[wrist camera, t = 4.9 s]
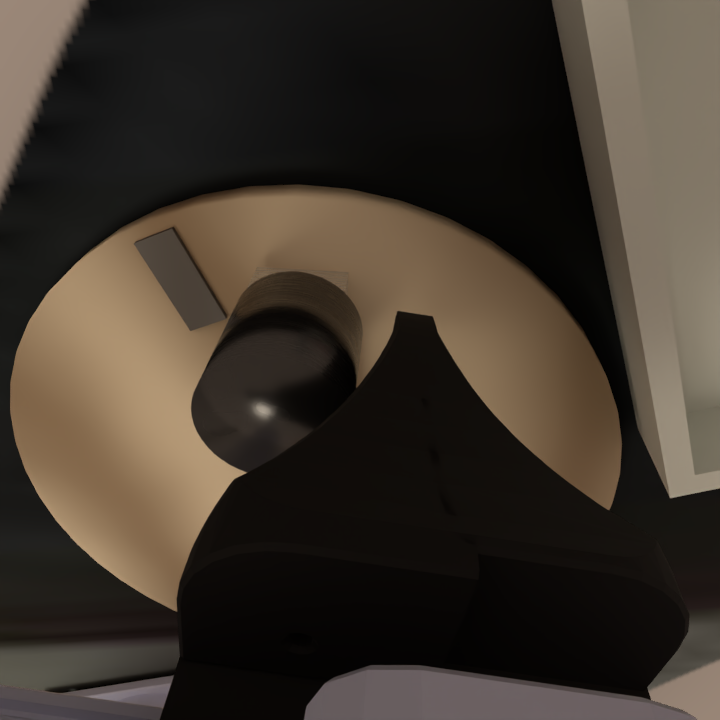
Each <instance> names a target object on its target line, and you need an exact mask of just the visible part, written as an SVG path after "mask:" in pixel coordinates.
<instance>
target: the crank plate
mask: <svg viewBox="0 0 720 720" xmlns="http://www.w3.org/2000/svg"><path fill="white" fill-rule="evenodd" d="M257 267H267V268H285V269H303V270H321V271H339V272H348V297H349V298H350V299H351V301H352V302H353V303H354V305H355V307H356V309H357V310H358V312H359V315H360V318H361V322H362V328H363V337H362V345H361V353H360V361H359V369H358V377H357V386H356V388H357V387H358V386H359V385H360V383H361V382H362V381H363V379H364V378H365V377H366V375H367V374H368V373H369V371H370V370H371V369H372V367H373V366H374V364H375V363H376V361H377V360H378V358H379V356H380V355H381V353H382V351H383V350H384V348H385V346H386V345H387V343H388V341H389V338H390V336H391V334H392V332H393V327H394V322H395V317H396V315H397V311H402V312H409V313H415V314H421V315H428V316H433V318H434V321H435V324H436V328H437V332H438V334H439V336H440V337H441V339H442V341H443V343H444V344H445V346H446V348H447V349H448V351H449V353H450V355H451V356H452V358H453V359H454V361H455V363H456V364H457V366H458V367H459V369H460V370H461V372H462V373H463V375H464V376H465V378H466V379H467V381H468V382H469V383H470V385H471V386H472V388H473V389H474V390H475V392H476V393H477V394H478V396H479V397H480V398H481V399H482V401H483V402H484V403H485V404H486V406H487V407H488V408H489V409H490V410H491V411H492V413H493V414H494V415H495V416H496V417H497V418H498V419H499V420H500V421H501V422H502V423H503V424H504V425H505V426H506V428H507V429H508V430H509V431H510V432H511V433H512V434H513V435H514V436H515V437H516V438H517V439H518V440H519V441H520V442H521V443H522V444H524V445H525V446H526V447H527V448H528V449H529V450H530V451H531V452H532V453H534V454H535V455H536V456H537V457H538V458H539V459H541V460H542V461H543V462H544V463H545V464H546V465H547V466H549V467H550V468H551V469H552V470H553V471H555V472H556V473H557V474H559V475H560V476H561V477H562V478H564V479H565V480H566V481H568V482H569V483H570V484H572V485H573V486H574V487H576V488H577V489H579V490H580V491H581V492H583V493H584V494H586V495H587V496H588V497H590V498H591V499H592V500H594V501H595V502H597V503H598V504H600V505H601V506H603V507H604V508H606V509H607V510H609V509H610V507H611V505H612V503H613V499H614V495H615V491H616V487H617V483H618V479H619V476H620V465H621V450H622V440H621V432H620V424H619V416H618V410H617V407H616V404H615V401H614V397H613V394H612V391H611V388H610V385H609V382H608V379H607V376H606V374H605V372H604V370H603V367H602V365H601V363H600V361H599V359H598V357H597V355H596V353H595V351H594V349H593V347H592V345H591V343H590V342H589V340H588V338H587V336H586V334H585V332H584V330H583V328H582V327H581V325H580V324H579V323H578V321H577V320H576V319H575V317H574V316H573V315H572V314H571V312H570V311H569V310H568V308H567V307H566V306H565V304H564V303H563V302H562V300H561V299H560V298H559V296H558V295H557V294H556V293H555V292H554V291H553V290H551V289H550V288H549V287H548V286H547V285H546V284H545V283H544V282H543V281H542V280H541V279H540V278H539V277H538V276H537V275H536V274H535V273H534V272H533V271H532V270H531V269H530V268H529V267H527V266H526V265H525V264H523V263H522V262H521V261H519V260H518V259H516V258H515V257H514V256H512V255H511V254H509V253H508V252H507V251H505V250H504V249H502V248H501V247H500V246H498V245H497V244H495V243H494V242H493V241H491V240H490V239H488V238H486V237H484V236H482V235H480V234H478V233H476V232H474V231H472V230H470V229H469V228H467V227H465V226H463V225H461V224H459V223H457V222H455V221H453V220H451V219H449V218H448V217H445V216H442V215H439V214H437V213H434V212H431V211H428V210H426V209H423V208H420V207H417V206H415V205H412V204H409V203H406V202H404V201H401V200H397V199H392V198H388V197H384V196H379V195H375V194H370V193H366V192H361V191H357V190H352V189H344V188H333V187H323V186H312V185H301V184H297V185H270V186H249V187H243V188H237V189H231V190H225V191H220V192H214V193H208V194H203V195H199V196H196V197H193V198H190V199H187V200H184V201H181V202H178V203H175V204H172V205H169V206H165V207H162V208H159V209H157V210H155V211H153V212H151V213H149V214H147V215H145V216H143V217H141V218H139V219H137V220H135V221H133V222H131V223H129V224H127V225H125V226H123V227H121V228H120V229H119V230H117V231H116V232H115V233H113V234H112V235H110V236H109V237H108V238H106V239H105V240H104V241H102V242H101V243H99V244H98V245H97V246H95V247H94V248H92V249H91V250H90V251H89V252H88V253H87V254H85V255H84V256H83V257H82V258H81V259H80V260H79V261H78V262H77V263H76V264H75V265H74V266H73V267H72V268H71V269H70V270H69V271H68V272H67V273H66V274H65V275H64V276H63V277H62V278H61V279H60V281H59V282H58V283H57V284H56V285H55V286H54V287H53V288H52V289H51V290H50V291H49V292H48V293H47V295H46V296H45V298H44V299H43V301H42V302H41V304H40V305H39V307H38V308H37V310H36V311H35V313H34V314H33V316H32V317H31V319H30V320H29V322H28V325H27V327H26V330H25V332H24V335H23V337H22V339H21V342H20V344H19V347H18V349H17V352H16V357H15V362H14V367H13V372H12V377H11V399H10V413H11V418H12V424H13V430H14V436H15V441H16V444H17V447H18V450H19V453H20V456H21V459H22V462H23V465H24V467H25V470H26V472H27V474H28V476H29V478H30V480H31V482H32V484H33V485H34V487H35V489H36V491H37V493H38V495H39V497H40V498H41V500H42V501H43V502H44V504H45V505H46V507H47V508H48V510H49V511H50V513H51V514H52V515H53V517H54V518H55V520H56V521H57V522H58V523H59V524H60V525H61V527H62V528H63V529H64V530H65V531H66V532H67V533H68V534H69V536H70V537H71V538H72V539H73V540H74V541H75V542H76V543H77V544H78V545H79V546H80V547H81V548H82V549H83V550H84V551H86V552H87V553H88V554H89V555H90V556H91V557H92V558H93V559H94V560H95V561H96V562H98V563H99V564H100V565H101V566H103V567H104V568H105V569H107V570H108V571H109V572H111V573H112V574H113V575H115V576H116V577H117V578H119V579H120V580H121V581H123V582H125V583H126V584H128V585H129V586H131V587H133V588H134V589H136V590H137V591H139V592H141V593H142V594H144V595H145V596H147V597H149V598H151V599H153V600H155V601H157V602H159V603H161V604H163V605H164V606H166V607H168V608H170V609H172V610H174V611H177V600H176V599H177V593H178V587H179V582H180V579H181V576H182V574H183V571H184V568H185V565H186V563H187V560H188V557H189V554H190V552H191V549H192V547H193V544H194V542H195V540H196V539H197V537H198V535H199V533H200V531H201V529H202V527H203V525H204V523H205V522H206V520H207V518H208V516H209V515H210V513H211V512H212V510H213V509H214V507H215V505H216V504H217V502H218V501H219V499H220V498H221V496H222V495H223V494H224V492H225V491H226V489H227V488H228V486H229V485H230V484H231V482H232V481H233V480H234V479H235V478H237V477H239V476H241V475H244V474H245V473H247V472H244V471H242V470H239V469H237V468H235V467H233V466H231V465H229V464H228V463H226V462H225V461H223V460H222V459H220V458H219V457H218V456H216V455H215V454H214V453H213V452H212V451H211V450H210V449H209V448H208V447H207V446H206V445H205V443H204V442H203V441H202V440H201V438H200V436H199V434H198V433H197V431H196V428H195V426H194V423H193V419H192V414H191V401H192V397H193V393H194V391H195V388H196V386H197V384H198V382H199V380H200V378H201V376H202V374H203V372H204V370H205V368H206V366H207V364H208V361H209V359H210V357H211V355H212V353H213V351H214V349H215V347H216V345H217V343H218V341H219V339H220V337H221V335H222V333H223V330H224V328H225V326H226V324H227V322H228V320H229V318H230V316H231V314H232V312H233V310H234V308H235V306H236V304H237V302H238V299H239V298H240V296H241V295H242V293H243V292H244V291H245V290H246V289H247V288H248V285H249V283H250V281H251V279H252V277H253V274H254V272H255V270H256V268H257Z"/></svg>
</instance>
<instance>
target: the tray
mask: <svg viewBox="0 0 720 720" xmlns="http://www.w3.org/2000/svg"><path fill="white" fill-rule="evenodd" d="M552 5H553V10H554V15H555V20H556V25H557V30H558V34H559V39H560V44H561V49H562V54H563V59H564V64H565V69H566V74H567V79H568V84H569V89H570V94H571V99H572V104H573V109H574V114H575V119H576V124H577V129H578V134H579V139H580V144H581V149H582V154H583V159H584V164H585V169H586V174H587V179H588V184H589V189H590V194H591V198H592V203H593V208H594V213H595V218H596V223H597V228H598V233H599V238H600V243H601V248H602V253H603V258H604V263H605V268H606V273H607V278H608V283H609V288H610V293H611V298H612V303H613V308H614V313H615V318H616V323H617V328H618V333H619V338H620V343H621V348H622V353H623V358H624V362H625V367H626V372H627V377H628V382H629V387H630V392H631V397H632V402H633V407H634V412H635V417H636V422H637V427H638V430H639V432H640V434H641V436H642V439H643V441H644V443H645V445H646V447H647V449H648V452H649V454H650V456H651V458H652V460H653V462H654V464H655V467H656V469H657V471H658V473H659V475H660V477H661V480H662V482H663V484H664V486H665V488H666V490H667V493H668V495H669V497H670V498H673V497H678V496H683V495H688V494H693V493H698V492H703V491H708V490H713V489H718V488H720V0H552Z"/></svg>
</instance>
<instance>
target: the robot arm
mask: <svg viewBox="0 0 720 720" xmlns="http://www.w3.org/2000/svg"><path fill="white" fill-rule="evenodd" d="M176 600H177V616H178V632H179V648H180V658H179V661H178V664H177V667H176V671H175V674H174V675H172V676H166V677H160V678H153V679H147V680H141V681H135V682H128V683H122V684H116V685H109V686H103V687H97V688H90V689H84V690H78V691H72V692H65V693H55V692H48V691H41V690H34V689H27V688H20V687H13V686H6V685H0V720H697V719H696V718H695V717H694V716H692V715H690V714H688V713H687V712H685V711H683V710H680V709H677V708H674V707H671V706H668V705H665V704H661V703H658V702H655V701H651V699H650V695H649V692H648V689H647V687H648V686H649V684H650V683H651V682H652V681H653V679H654V678H655V677H656V676H657V675H658V673H659V672H660V671H661V670H662V668H663V667H664V666H665V665H666V663H667V662H668V661H669V660H670V659H671V657H672V656H673V655H674V654H675V652H676V651H677V650H678V649H679V647H680V645H681V644H682V642H683V640H684V638H685V636H686V635H687V633H688V627H689V613H688V610H687V608H686V605H685V603H684V600H683V598H682V596H681V593H680V590H679V587H678V585H677V582H676V580H675V577H674V575H673V572H672V570H671V568H670V565H669V563H668V561H667V559H666V557H665V555H664V553H663V551H662V549H661V547H660V545H659V543H658V542H657V540H656V539H655V538H653V537H652V536H650V535H648V534H647V533H645V532H643V531H642V530H640V529H639V528H637V527H635V526H634V525H632V524H630V523H629V522H627V521H625V520H624V519H622V518H621V517H619V516H617V515H616V514H614V513H612V512H611V511H609V510H607V509H606V508H604V507H603V506H601V505H600V504H598V503H597V502H595V501H594V500H592V499H591V498H590V497H588V496H587V495H586V494H584V493H583V492H581V491H580V490H579V489H577V488H576V487H574V486H573V485H572V484H570V483H569V482H568V481H566V480H565V479H564V478H562V477H561V476H560V475H559V474H557V473H556V472H555V471H553V470H552V469H551V468H550V467H549V466H547V465H546V464H545V463H544V462H543V461H542V460H541V459H539V458H538V457H537V456H536V455H535V454H534V453H532V452H531V451H530V450H529V449H528V448H527V447H526V446H525V445H524V444H522V443H521V442H520V441H519V440H518V439H517V438H516V437H515V436H514V435H513V434H512V433H511V432H510V431H509V430H508V429H507V428H506V426H505V425H504V424H503V423H502V422H501V421H500V420H499V419H498V418H497V417H496V416H495V415H494V414H493V413H492V411H491V410H490V409H489V408H488V407H487V406H486V404H485V403H484V402H483V401H482V399H481V398H480V397H479V396H478V394H477V393H476V392H475V390H474V389H473V388H472V386H471V385H470V383H469V382H468V381H467V379H466V378H465V376H464V375H463V373H462V372H461V370H460V369H459V367H458V366H457V364H456V363H455V361H454V359H453V358H452V356H451V355H450V353H449V351H448V349H447V348H446V346H445V344H444V343H443V341H442V339H441V337H440V336H439V334H438V332H437V328H436V324H435V321H434V318H433V316H428V315H421V314H415V313H409V312H402V311H397V315H396V317H395V322H394V327H393V332H392V334H391V336H390V338H389V341H388V343H387V345H386V346H385V348H384V350H383V351H382V353H381V355H380V356H379V358H378V360H377V361H376V363H375V364H374V366H373V367H372V369H371V370H370V371H369V373H368V374H367V375H366V377H365V378H364V379H363V381H362V382H361V383H360V385H359V386H358V387H357V388H356V389H355V391H354V392H353V393H352V394H351V395H350V396H349V397H348V398H347V399H346V401H345V402H344V403H343V404H342V405H341V406H340V407H339V408H338V409H337V410H336V411H335V412H334V413H332V414H331V415H330V416H329V417H328V418H327V419H326V420H325V421H324V422H322V423H321V424H320V425H319V426H318V427H317V428H315V429H314V430H313V431H312V432H311V433H309V434H308V435H307V436H305V437H304V438H302V439H301V440H299V441H298V442H297V443H295V444H294V445H292V446H291V447H289V448H288V449H287V450H285V451H284V452H282V453H281V454H279V455H278V456H276V457H274V458H273V459H271V460H269V461H268V462H266V463H264V464H262V465H260V466H258V467H256V468H255V469H253V470H251V471H249V472H247V473H245V474H244V475H241V476H239V477H237V478H235V479H234V480H233V481H232V482H231V484H230V485H229V486H228V488H227V489H226V491H225V492H224V494H223V495H222V496H221V498H220V499H219V501H218V502H217V504H216V505H215V507H214V509H213V510H212V512H211V513H210V515H209V516H208V518H207V520H206V522H205V523H204V525H203V527H202V529H201V531H200V533H199V535H198V537H197V539H196V540H195V542H194V544H193V547H192V549H191V552H190V554H189V557H188V560H187V563H186V565H185V568H184V571H183V574H182V576H181V579H180V582H179V587H178V593H177V599H176Z"/></svg>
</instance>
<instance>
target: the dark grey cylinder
mask: <svg viewBox="0 0 720 720" xmlns="http://www.w3.org/2000/svg"><path fill="white" fill-rule="evenodd" d="M362 337H363V328H362V322H361V318H360V315H359V312H358V310H357V309H356V307H355V305H354V303H353V302H352V301H351V299H350V298H349V297H348V272H339V271H321V270H303V269H285V268H267V267H257V268H256V270H255V272H254V274H253V277H252V279H251V281H250V283H249V285H248V288H247V289H246V290H245V291H244V292H243V293H242V295H241V296H240V298H239V299H238V302H237V304H236V306H235V308H234V310H233V312H232V314H231V316H230V318H229V320H228V322H227V324H226V326H225V328H224V330H223V333H222V335H221V337H220V339H219V341H218V343H217V345H216V347H215V349H214V351H213V353H212V355H211V357H210V359H209V361H208V364H207V366H206V368H205V370H204V372H203V374H202V376H201V378H200V380H199V382H198V384H197V386H196V388H195V391H194V393H193V397H192V401H191V414H192V419H193V423H194V426H195V428H196V431H197V433H198V434H199V436H200V438H201V440H202V441H203V442H204V443H205V445H206V446H207V447H208V448H209V449H210V450H211V451H212V452H213V453H214V454H215V455H216V456H218V457H219V458H220V459H222V460H223V461H225V462H226V463H228V464H229V465H231V466H233V467H235V468H237V469H239V470H242V471H244V472H249V471H251V470H253V469H255V468H256V467H258V466H260V465H262V464H264V463H266V462H268V461H269V460H271V459H273V458H274V457H276V456H278V455H279V454H281V453H282V452H284V451H285V450H287V449H288V448H289V447H291V446H292V445H294V444H295V443H297V442H298V441H299V440H301V439H302V438H304V437H305V436H307V435H308V434H309V433H311V432H312V431H313V430H314V429H315V428H317V427H318V426H319V425H320V424H321V423H322V422H324V421H325V420H326V419H327V418H328V417H329V416H330V415H331V414H332V413H334V412H335V411H336V410H337V409H338V408H339V407H340V406H341V405H342V404H343V403H344V402H345V401H346V399H347V398H348V397H349V396H350V395H351V394H352V393H353V392H354V391H355V389H356V386H357V377H358V369H359V361H360V353H361V345H362Z"/></svg>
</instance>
